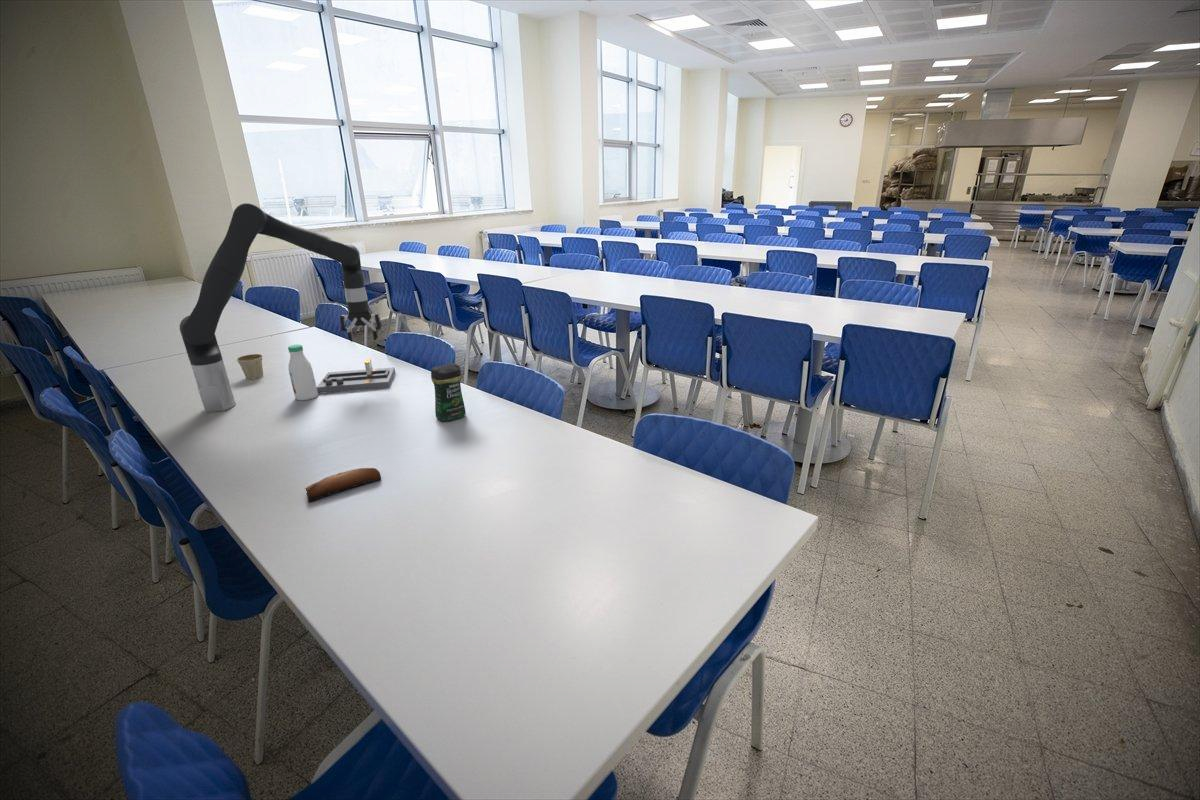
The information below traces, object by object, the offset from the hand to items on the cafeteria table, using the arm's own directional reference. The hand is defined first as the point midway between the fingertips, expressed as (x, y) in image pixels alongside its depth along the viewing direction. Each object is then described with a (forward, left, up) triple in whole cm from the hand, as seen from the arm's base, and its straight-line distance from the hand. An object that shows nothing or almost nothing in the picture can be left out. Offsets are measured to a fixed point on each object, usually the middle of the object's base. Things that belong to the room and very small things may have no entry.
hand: (364, 340), depth 209 cm
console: (0, +5, -17) cm, 18 cm away
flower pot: (+18, +49, -18) cm, 55 cm away
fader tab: (0, 0, -15) cm, 15 cm away
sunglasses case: (-83, -7, -18) cm, 85 cm away
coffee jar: (-44, -33, -17) cm, 58 cm away
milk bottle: (-12, +21, -17) cm, 30 cm away
